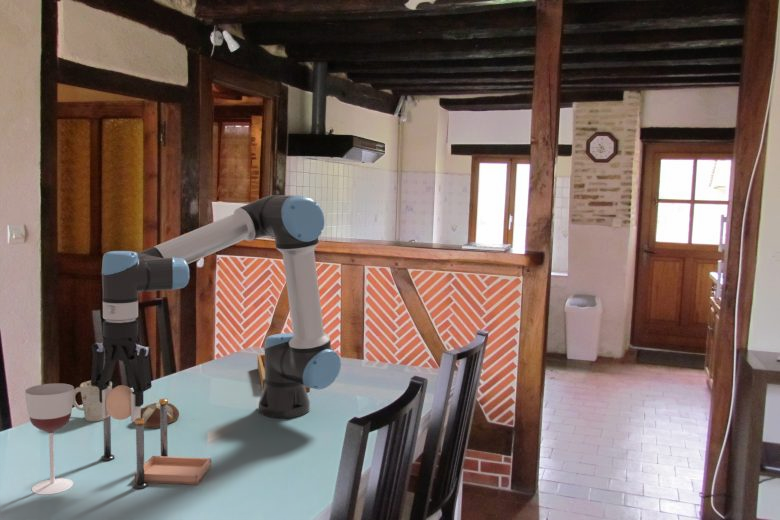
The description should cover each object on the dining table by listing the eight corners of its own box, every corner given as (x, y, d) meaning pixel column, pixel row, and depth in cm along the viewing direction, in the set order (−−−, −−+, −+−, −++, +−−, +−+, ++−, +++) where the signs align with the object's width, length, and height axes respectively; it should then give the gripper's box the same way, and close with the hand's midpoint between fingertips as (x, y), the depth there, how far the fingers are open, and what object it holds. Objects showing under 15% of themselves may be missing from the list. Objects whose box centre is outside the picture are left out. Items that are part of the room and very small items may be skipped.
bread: (185, 418, 199) (185, 401, 199) (156, 431, 189) (156, 413, 189) (156, 412, 204) (155, 396, 204) (126, 424, 194) (125, 406, 193)
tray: (211, 466, 166) (211, 458, 166) (197, 484, 156) (197, 476, 156) (152, 463, 167) (152, 455, 167) (135, 482, 157) (134, 473, 157)
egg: (136, 422, 158) (136, 388, 158) (104, 424, 156) (104, 390, 156) (137, 413, 165) (137, 380, 164) (107, 415, 163) (106, 382, 162)
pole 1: (116, 456, 171) (115, 395, 169) (110, 461, 168) (109, 399, 166) (104, 456, 171) (103, 395, 169) (98, 460, 168) (97, 399, 166)
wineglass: (38, 478, 158) (35, 383, 155) (82, 477, 159) (79, 383, 156) (21, 495, 149) (17, 395, 147) (67, 494, 150) (64, 395, 147)
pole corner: (172, 459, 170) (171, 398, 168) (168, 463, 167) (167, 402, 166) (160, 458, 170) (159, 397, 169) (155, 463, 167) (154, 401, 166)
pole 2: (150, 483, 156) (149, 417, 155) (144, 489, 153) (143, 422, 152) (136, 482, 156) (135, 416, 155) (131, 488, 153) (130, 421, 152)
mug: (101, 424, 193) (100, 389, 192) (61, 420, 195) (59, 385, 194) (118, 414, 201) (118, 380, 200) (79, 410, 203) (79, 377, 202)
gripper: (71, 319, 157) (73, 418, 159) (150, 325, 152) (150, 427, 155) (92, 313, 164) (94, 408, 166) (168, 319, 160) (168, 417, 162)
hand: (121, 417), depth 161 cm, fingers closed on egg, 7 cm apart
